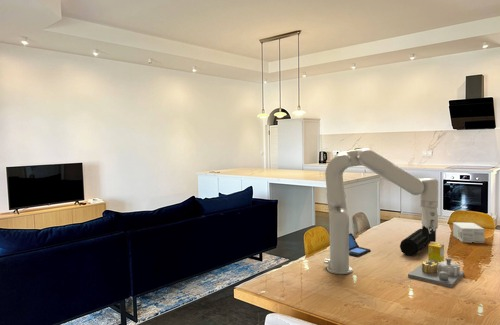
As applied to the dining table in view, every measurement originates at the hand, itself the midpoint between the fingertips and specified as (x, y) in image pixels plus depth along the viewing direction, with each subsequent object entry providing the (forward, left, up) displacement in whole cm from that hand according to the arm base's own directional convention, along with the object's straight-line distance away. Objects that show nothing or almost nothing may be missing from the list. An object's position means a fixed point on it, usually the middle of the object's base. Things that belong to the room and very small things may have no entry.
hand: (428, 238), depth 178 cm
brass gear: (+1, 0, -16) cm, 16 cm away
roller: (-19, +41, -18) cm, 49 cm away
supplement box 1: (-1, +16, -18) cm, 24 cm away
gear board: (+4, 0, -18) cm, 18 cm away
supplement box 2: (-2, +82, -18) cm, 84 cm away
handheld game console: (-45, +10, -18) cm, 49 cm away
